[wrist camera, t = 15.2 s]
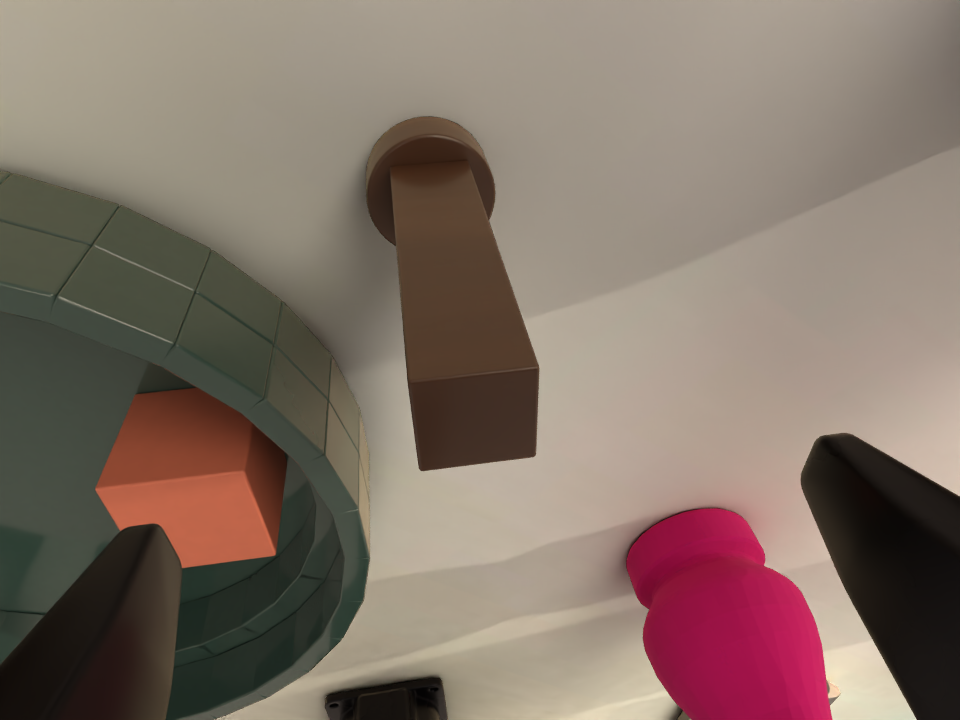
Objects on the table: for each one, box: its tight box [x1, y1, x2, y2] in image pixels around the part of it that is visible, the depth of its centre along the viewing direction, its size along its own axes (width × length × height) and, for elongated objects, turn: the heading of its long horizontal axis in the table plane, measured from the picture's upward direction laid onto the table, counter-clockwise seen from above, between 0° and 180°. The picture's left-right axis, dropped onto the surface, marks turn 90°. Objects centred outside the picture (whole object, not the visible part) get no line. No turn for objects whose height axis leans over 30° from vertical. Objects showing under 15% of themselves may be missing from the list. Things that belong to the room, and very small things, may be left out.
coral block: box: [95, 388, 287, 568], centre depth 20 cm, size 4×4×4 cm
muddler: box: [366, 117, 539, 471], centre depth 14 cm, size 3×3×10 cm
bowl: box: [0, 171, 370, 720], centre depth 20 cm, size 22×22×5 cm
